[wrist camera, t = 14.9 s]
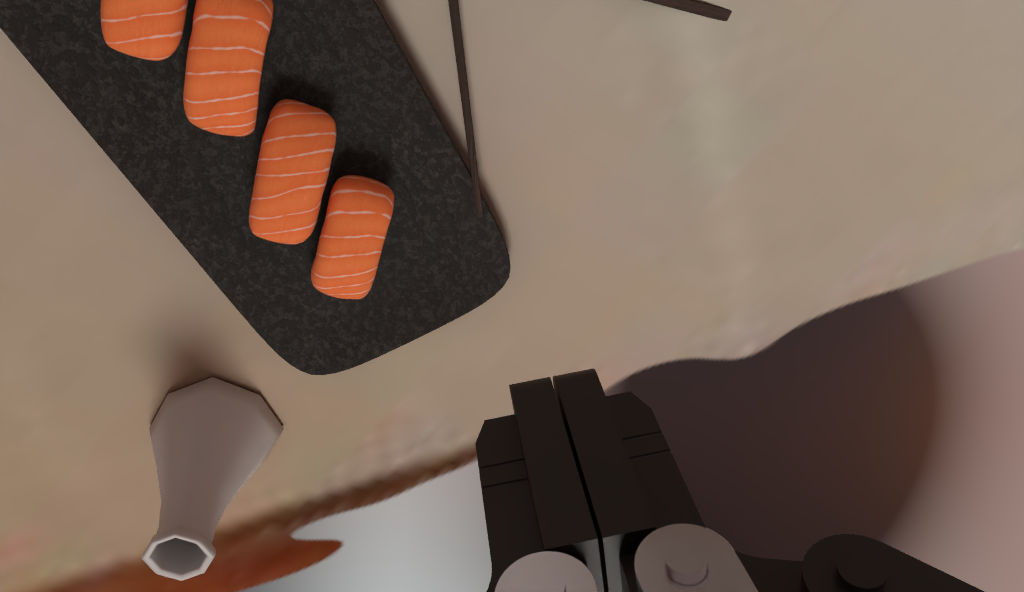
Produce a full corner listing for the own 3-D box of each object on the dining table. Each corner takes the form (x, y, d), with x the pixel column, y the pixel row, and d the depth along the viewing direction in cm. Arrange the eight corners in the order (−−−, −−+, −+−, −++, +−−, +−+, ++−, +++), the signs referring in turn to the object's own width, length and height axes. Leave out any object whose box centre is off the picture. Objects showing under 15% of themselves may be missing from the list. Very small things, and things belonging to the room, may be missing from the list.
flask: (211, 355, 43) (166, 481, 34) (305, 425, 46) (285, 555, 38) (127, 424, 45) (64, 561, 36) (224, 487, 48) (187, 625, 39)
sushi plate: (-100, -124, 30) (-160, -121, 27) (571, -548, 27) (595, -602, 23) (309, 373, 45) (303, 414, 42) (776, 144, 42) (808, 170, 38)
